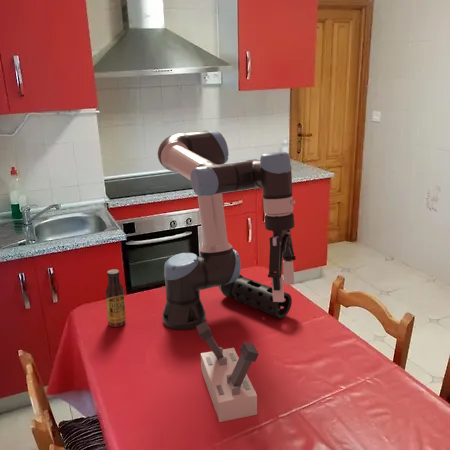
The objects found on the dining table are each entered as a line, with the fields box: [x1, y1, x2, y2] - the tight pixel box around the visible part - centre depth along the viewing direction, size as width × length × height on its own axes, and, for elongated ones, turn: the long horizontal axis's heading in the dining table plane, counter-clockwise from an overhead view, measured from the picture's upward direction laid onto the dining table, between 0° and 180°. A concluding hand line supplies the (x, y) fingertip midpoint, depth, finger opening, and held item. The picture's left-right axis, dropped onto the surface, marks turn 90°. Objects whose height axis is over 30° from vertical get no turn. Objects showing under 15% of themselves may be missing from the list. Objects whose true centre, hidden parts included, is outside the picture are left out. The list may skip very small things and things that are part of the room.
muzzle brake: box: [218, 274, 293, 320], centre depth 174 cm, size 10×28×10 cm, turn 46°
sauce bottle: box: [105, 268, 127, 328], centre depth 164 cm, size 6×6×20 cm
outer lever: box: [230, 341, 260, 387], centre depth 122 cm, size 3×4×11 cm
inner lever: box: [196, 320, 224, 360], centre depth 133 cm, size 3×4×11 cm
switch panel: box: [200, 346, 258, 423], centre depth 130 cm, size 10×22×8 cm, turn 15°
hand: (284, 292), depth 126 cm, fingers open, 13 cm apart
